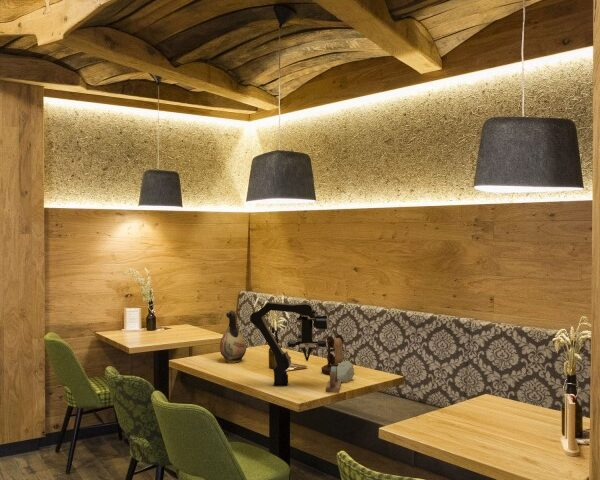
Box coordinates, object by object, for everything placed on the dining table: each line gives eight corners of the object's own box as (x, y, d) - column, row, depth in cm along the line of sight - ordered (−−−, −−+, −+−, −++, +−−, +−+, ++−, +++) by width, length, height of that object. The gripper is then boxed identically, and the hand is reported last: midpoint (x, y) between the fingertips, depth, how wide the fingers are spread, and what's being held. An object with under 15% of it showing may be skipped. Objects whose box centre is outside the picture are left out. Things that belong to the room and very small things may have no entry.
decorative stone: (348, 376, 317) (337, 361, 316) (361, 372, 309) (350, 357, 308) (335, 393, 308) (323, 377, 307) (348, 389, 300) (336, 373, 299)
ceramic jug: (217, 359, 361) (217, 308, 360) (243, 357, 365) (243, 307, 365) (222, 365, 344) (222, 312, 344) (249, 363, 349) (249, 311, 349)
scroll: (335, 377, 316) (335, 338, 315) (315, 372, 327) (315, 335, 326) (354, 373, 325) (354, 335, 325) (335, 368, 336) (335, 332, 336)
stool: (325, 392, 285) (325, 372, 285) (328, 385, 299) (328, 365, 299) (338, 393, 284) (338, 372, 284) (341, 385, 298) (341, 366, 298)
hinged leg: (329, 382, 291) (330, 367, 290) (330, 380, 293) (331, 366, 293) (334, 382, 290) (335, 368, 290) (335, 381, 293) (336, 366, 292)
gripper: (324, 326, 307) (325, 357, 307) (287, 326, 306) (288, 357, 306) (326, 329, 295) (326, 362, 296) (287, 330, 295) (287, 362, 295)
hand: (307, 360), depth 299 cm, fingers closed
